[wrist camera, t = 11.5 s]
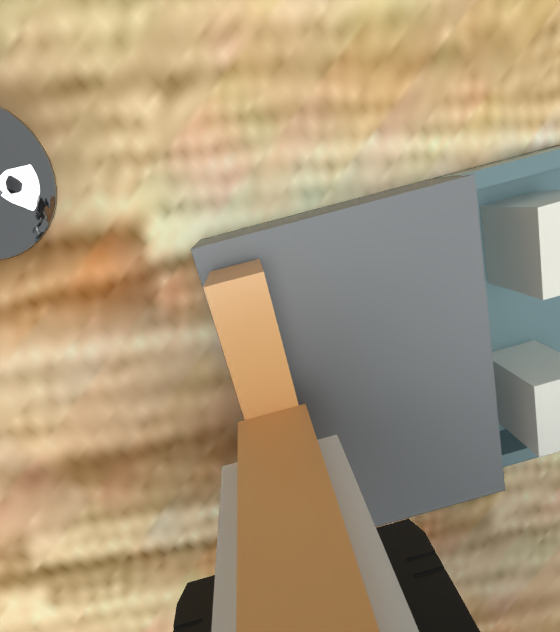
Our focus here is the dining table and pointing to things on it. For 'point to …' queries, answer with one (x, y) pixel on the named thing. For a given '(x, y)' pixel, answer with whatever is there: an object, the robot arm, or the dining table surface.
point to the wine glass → (23, 187)
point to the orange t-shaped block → (281, 480)
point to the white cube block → (529, 394)
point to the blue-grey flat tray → (505, 304)
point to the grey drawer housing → (387, 337)
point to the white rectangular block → (524, 243)
